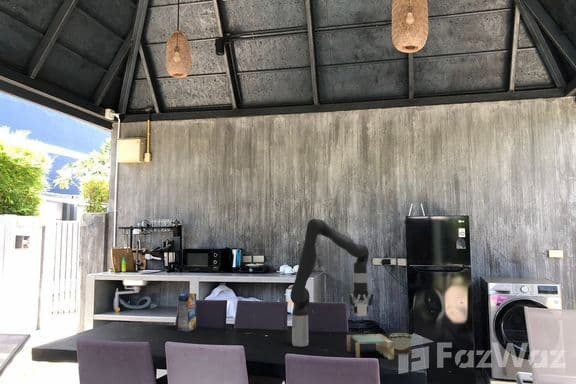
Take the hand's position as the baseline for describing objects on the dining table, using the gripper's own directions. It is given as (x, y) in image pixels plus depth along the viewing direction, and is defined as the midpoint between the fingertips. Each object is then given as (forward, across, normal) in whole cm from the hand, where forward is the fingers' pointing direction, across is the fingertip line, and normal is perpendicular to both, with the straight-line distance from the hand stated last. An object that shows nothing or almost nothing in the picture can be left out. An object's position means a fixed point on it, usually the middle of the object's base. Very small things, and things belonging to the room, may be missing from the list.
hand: (361, 313), depth 231 cm
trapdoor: (+14, +4, 0) cm, 15 cm away
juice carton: (+23, -101, +82) cm, 132 cm away
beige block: (+1, 0, 0) cm, 1 cm away
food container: (+22, +22, +2) cm, 31 cm away
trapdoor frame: (+22, +4, 0) cm, 22 cm away
